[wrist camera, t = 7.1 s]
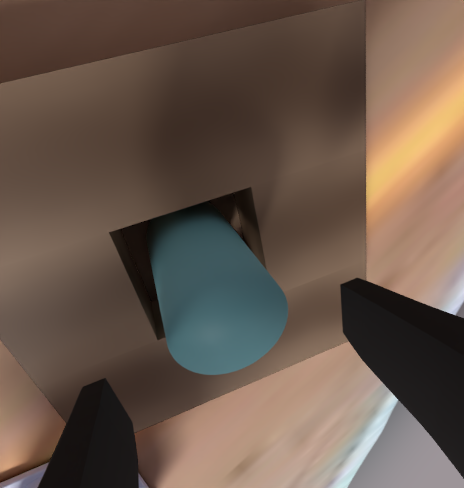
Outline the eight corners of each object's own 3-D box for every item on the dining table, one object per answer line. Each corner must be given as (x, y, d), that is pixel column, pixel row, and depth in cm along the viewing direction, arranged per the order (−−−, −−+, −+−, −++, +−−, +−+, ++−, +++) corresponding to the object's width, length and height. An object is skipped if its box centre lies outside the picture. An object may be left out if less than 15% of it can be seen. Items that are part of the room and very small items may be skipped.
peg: (234, 255, 18) (295, 345, 12) (162, 282, 17) (188, 392, 11) (215, 186, 16) (277, 252, 10) (133, 213, 15) (146, 302, 9)
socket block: (336, 303, 22) (366, 333, 19) (92, 402, 19) (89, 452, 16) (318, 13, 14) (365, -1, 11) (-105, 112, 11) (-172, 122, 8)
